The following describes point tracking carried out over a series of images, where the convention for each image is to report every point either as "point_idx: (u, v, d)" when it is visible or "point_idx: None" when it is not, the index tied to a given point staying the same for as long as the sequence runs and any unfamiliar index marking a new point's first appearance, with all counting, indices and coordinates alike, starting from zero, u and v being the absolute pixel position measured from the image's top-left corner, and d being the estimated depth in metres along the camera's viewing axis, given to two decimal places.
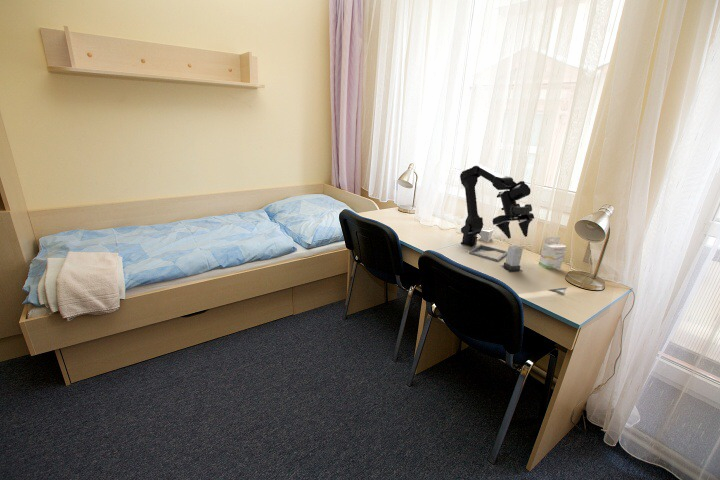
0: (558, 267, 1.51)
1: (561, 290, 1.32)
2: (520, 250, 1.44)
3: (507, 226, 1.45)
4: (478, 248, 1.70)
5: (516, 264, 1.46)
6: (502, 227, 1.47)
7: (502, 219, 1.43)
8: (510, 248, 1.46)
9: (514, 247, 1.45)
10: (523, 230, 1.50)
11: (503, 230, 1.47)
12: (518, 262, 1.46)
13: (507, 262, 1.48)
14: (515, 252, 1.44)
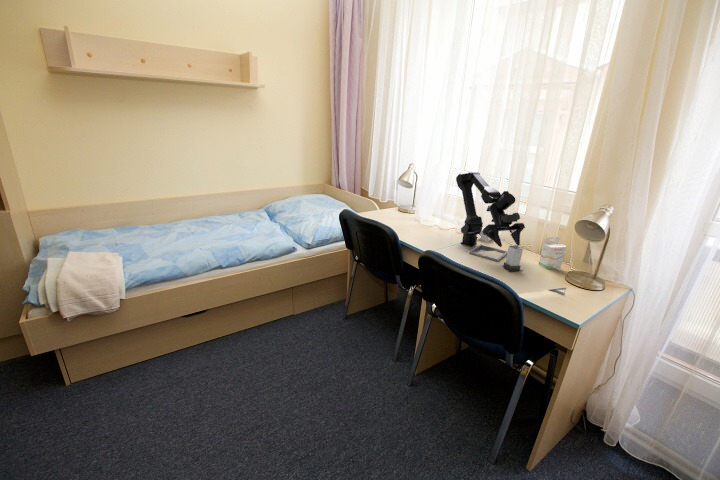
0: (558, 267, 1.51)
1: (561, 290, 1.32)
2: (520, 250, 1.44)
3: (497, 234, 1.48)
4: (478, 248, 1.70)
5: (516, 264, 1.46)
6: (493, 236, 1.50)
7: (490, 227, 1.47)
8: (510, 248, 1.46)
9: (514, 247, 1.45)
10: (516, 239, 1.51)
11: (494, 239, 1.50)
12: (518, 262, 1.46)
13: (507, 262, 1.48)
14: (515, 252, 1.44)
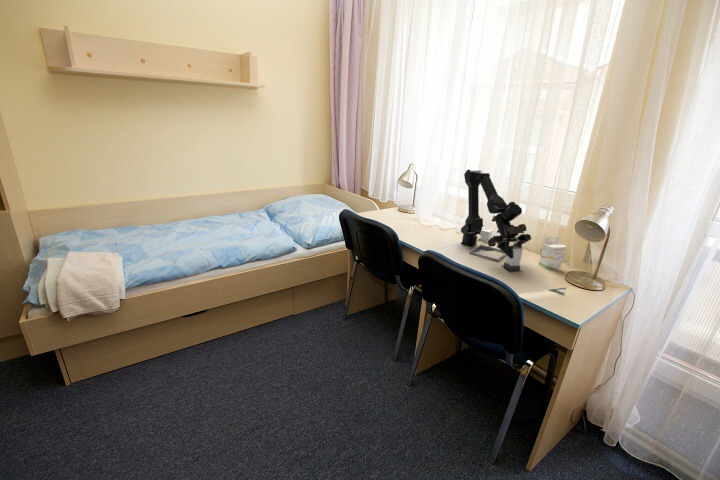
0: (558, 267, 1.51)
1: (561, 290, 1.32)
2: (520, 250, 1.44)
3: (507, 246, 1.45)
4: (478, 248, 1.70)
5: (516, 264, 1.46)
6: (503, 248, 1.48)
7: (496, 239, 1.44)
8: (510, 248, 1.46)
9: (514, 247, 1.45)
10: None
11: (504, 251, 1.47)
12: (518, 262, 1.46)
13: (507, 262, 1.48)
14: (515, 252, 1.44)
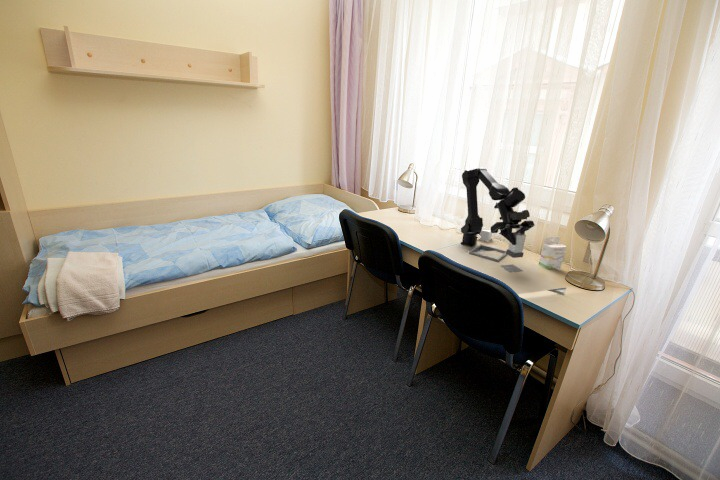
0: (558, 267, 1.51)
1: (561, 290, 1.32)
2: (523, 236, 1.42)
3: (510, 232, 1.43)
4: (478, 248, 1.70)
5: (519, 250, 1.44)
6: (506, 234, 1.45)
7: (499, 225, 1.41)
8: (513, 234, 1.43)
9: (517, 233, 1.43)
10: None
11: (507, 237, 1.45)
12: (521, 249, 1.44)
13: (510, 249, 1.46)
14: (518, 238, 1.41)
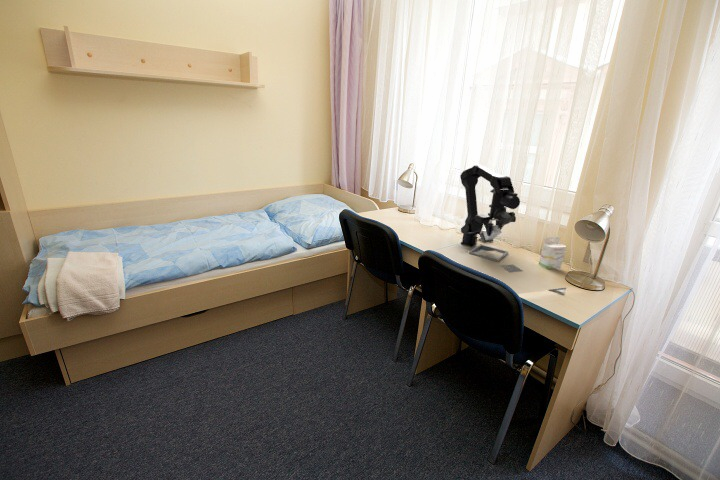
0: (558, 267, 1.51)
1: (561, 290, 1.32)
2: (498, 233, 1.57)
3: (490, 226, 1.57)
4: (478, 248, 1.70)
5: (490, 239, 1.63)
6: (486, 224, 1.59)
7: (482, 222, 1.53)
8: (491, 228, 1.58)
9: (495, 229, 1.57)
10: None
11: (486, 227, 1.59)
12: (492, 238, 1.62)
13: (484, 234, 1.64)
14: (493, 234, 1.57)
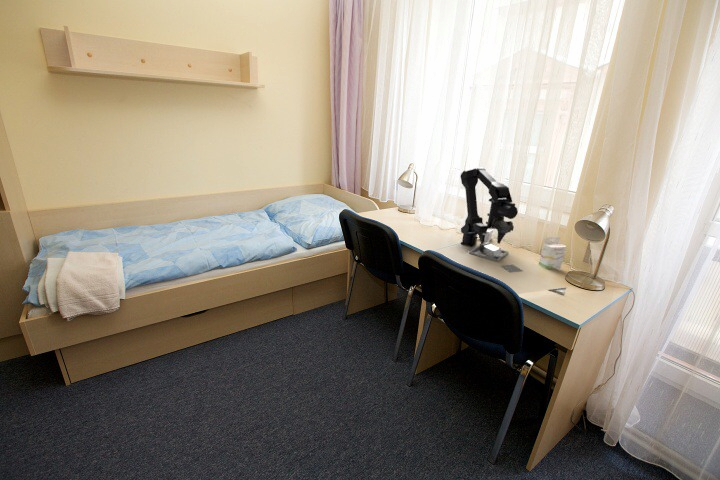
0: (558, 267, 1.51)
1: (561, 290, 1.32)
2: None
3: (483, 235, 1.58)
4: (478, 248, 1.70)
5: None
6: (479, 233, 1.60)
7: (480, 231, 1.55)
8: (492, 252, 1.57)
9: (495, 254, 1.57)
10: (499, 237, 1.63)
11: (479, 236, 1.61)
12: None
13: (483, 248, 1.63)
14: None
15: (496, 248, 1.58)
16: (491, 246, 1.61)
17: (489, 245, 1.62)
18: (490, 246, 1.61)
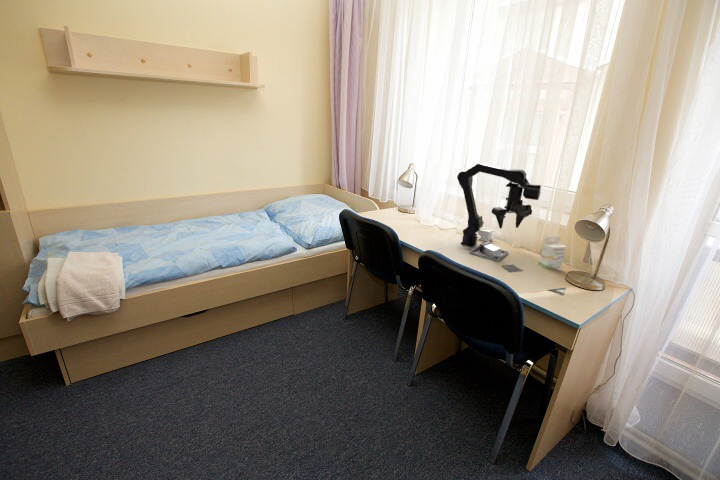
0: (558, 267, 1.51)
1: (561, 290, 1.32)
2: None
3: (502, 219, 1.61)
4: (478, 248, 1.70)
5: None
6: (498, 217, 1.63)
7: (499, 214, 1.58)
8: (492, 252, 1.57)
9: (495, 254, 1.57)
10: (517, 222, 1.66)
11: (498, 220, 1.64)
12: None
13: (483, 248, 1.63)
14: None
15: (496, 248, 1.58)
16: (491, 246, 1.61)
17: (489, 245, 1.62)
18: (490, 246, 1.61)
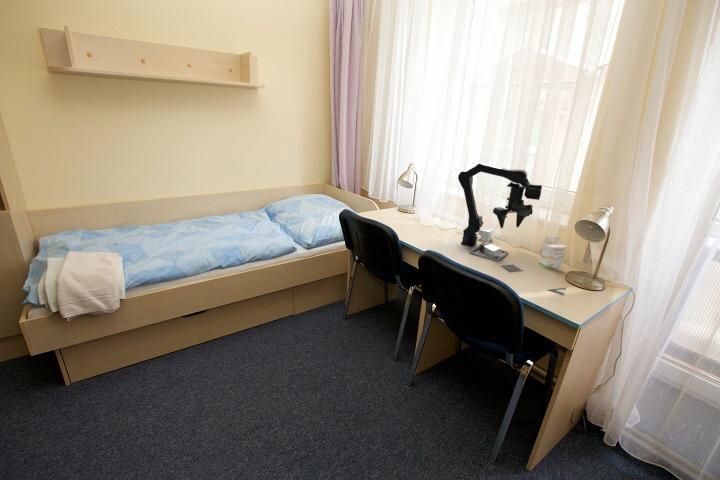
0: (558, 267, 1.51)
1: (561, 290, 1.32)
2: None
3: (503, 219, 1.62)
4: (478, 248, 1.70)
5: None
6: (499, 217, 1.64)
7: (501, 214, 1.59)
8: (492, 252, 1.57)
9: (495, 254, 1.57)
10: (518, 221, 1.67)
11: (499, 219, 1.65)
12: None
13: (483, 248, 1.63)
14: None
15: (496, 248, 1.58)
16: (491, 246, 1.61)
17: (489, 245, 1.62)
18: (490, 246, 1.61)
